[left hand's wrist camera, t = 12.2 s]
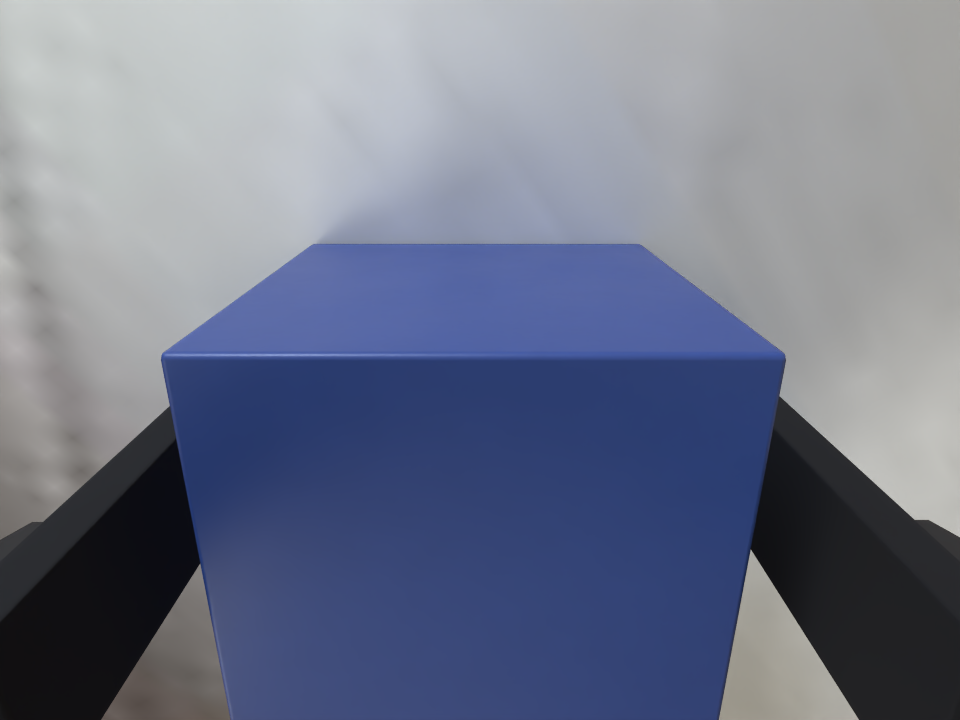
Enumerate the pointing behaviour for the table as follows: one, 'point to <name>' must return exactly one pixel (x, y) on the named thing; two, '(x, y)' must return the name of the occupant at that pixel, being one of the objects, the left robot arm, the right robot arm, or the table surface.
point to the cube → (474, 483)
